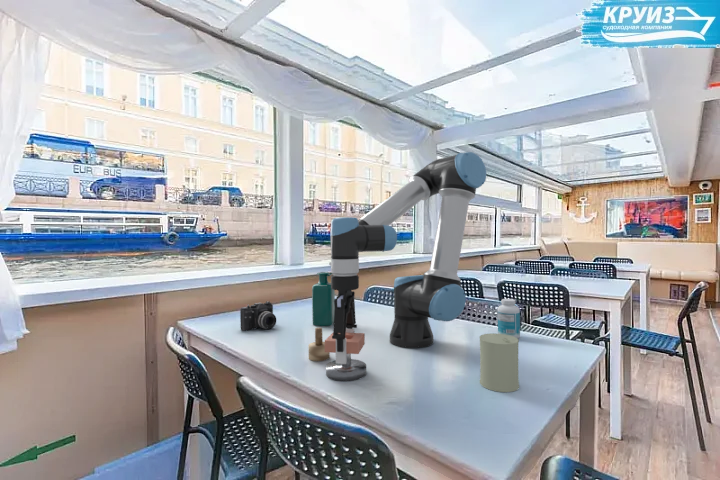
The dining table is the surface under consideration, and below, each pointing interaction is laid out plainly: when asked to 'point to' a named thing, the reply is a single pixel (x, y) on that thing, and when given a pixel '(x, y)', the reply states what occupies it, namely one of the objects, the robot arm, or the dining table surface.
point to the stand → (318, 348)
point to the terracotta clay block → (347, 343)
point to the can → (499, 362)
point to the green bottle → (323, 301)
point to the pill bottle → (509, 318)
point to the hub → (346, 370)
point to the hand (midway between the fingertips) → (345, 357)
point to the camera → (257, 316)
